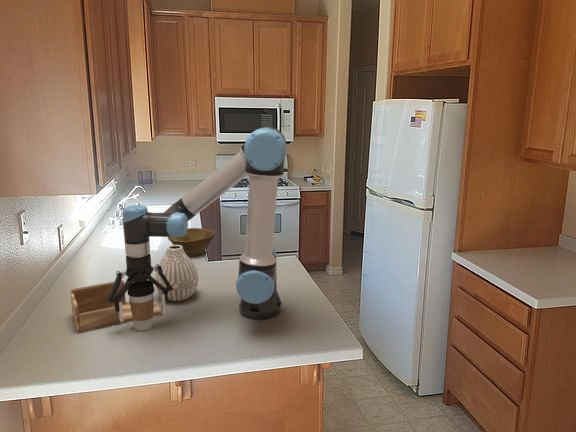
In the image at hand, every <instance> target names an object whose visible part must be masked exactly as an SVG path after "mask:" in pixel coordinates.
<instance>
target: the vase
mask: <svg viewBox="0 0 576 432" xmlns="http://www.w3.org/2000/svg"><path fill="white" fill-rule="evenodd" d="M158 264H159V265H160V266H161V267H162V272H163V274H164V275H165V277H166V278H167V280H168V281H169V283H170V285H171V286H172V288H173V290H172V291H169V292H168V294H167V295H168V301H169V302H182V301H183V302H184V301H185V300H187V299H189V298H190V297H192V295H193V294H195V292H196V290H197V287H198V285H199V273H198V270H197V267H196V265H195V263H194V261H192V259H191V257H190V256H187V255H186V253H185V251H184V249H183V247H182V246H181V245H173V244H172V245H168V246H167V248H166V252H165V254H164V256H163V258H162V259H161V260H160V262H159V263H158ZM154 279H155V280H156V281H158V282H159V283H160V284H161V285H162V286H163V287H167V286H166V285H165V283H164V281H163V280H162V278H161V277H160V275H159V274H158V272H155V276H154ZM155 288H156V290H157V291H158V294H160V292H163V291H161V290H160V289H159V288H158V287H157V286H156V285H155Z"/></svg>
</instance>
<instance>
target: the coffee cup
mask: <svg viewBox="0 0 576 432" xmlns="http://www.w3.org/2000/svg"><path fill="white" fill-rule="evenodd" d="M154 286H155V285H154V284H153V283H152V282H151V281H149V280H147V281H146V282H139V283H133V284H132V286H130V288H129V289H128V290H127V292H126V293H127V295H128V297H129V301H128V302H130V306H131V311H132V316H133V321H132V322H133V327H134V330H136V331H139V332H143V331H144V332H145V331H149V330H151V329H152V328H153V327H154V316H153V315H154V302H155V296H154V293H155V291H156V290H155V287H154Z"/></svg>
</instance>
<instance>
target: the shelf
mask: <svg viewBox="0 0 576 432" xmlns="http://www.w3.org/2000/svg"><path fill="white" fill-rule="evenodd" d="M114 282H115V280H114V281H109V282H104V283H97V284H93V285H88V286H82V287H76V288H71V291H69V294H70V295H69V296H70V303H71V310H72V311H71V313H72V318H73V321H74V325H75V328H76V332H77V334H81V333H87V332H90V331H95V330H98V329H99V328H100V329H103V328H104V329H105V328H108V326H109V327H113V326H116V325H117V324H118V325H121V323H122V324H126V323H129V322H134V321H133V316H132V311H131V306H130V301H126V293H125V294H124V296H123V297H122V299H121V302H122V311H123V322H121V321H120V319H119V312H116V310H115V304H114V302H111V303H110V302H109V300H108V296H109V294H110V291H111V289H112V286H113V284H114ZM124 284H125V280H123V279H122V280H121V283H120V286H119V288H118V290H117V293H118V292H119V291H120V289H121V288H122V286H123V285H124ZM117 293H116V295H117ZM116 295H115V296H116ZM162 313H163V312H162V310H161V308H160V307H159V305H158V304H157V303H156V301H154V315H153V317H157V316H162V315H163V314H162ZM112 325H113V326H112Z"/></svg>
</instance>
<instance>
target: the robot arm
mask: <svg viewBox="0 0 576 432" xmlns="http://www.w3.org/2000/svg"><path fill="white" fill-rule="evenodd" d="M286 151H287V140H286V137H285V136H284V134H283V132H282V131H280V130H279V129H277V128H276V127H274V126H261V127H259V128H258V129H255V130H254V131H252V132H251V133H250V134H249V135H248V137H247V139H246V141H245V143H244V144H243V145H241V146H240V147H239V152H238V153H236V154H235V155H234V156H233V157H232V158H230V159H229V160H227V162H225V163H224V164H222V165H221V166H220V167H219V168H217V169H216V170H215V171H214V172H212V173H211V174H210V175H209V176H207V177H206V178H204V179H203V180H202V181H201V182H199V184H197V185H196V186H194V187H193V188H192V189H191V190H190V191H188V192H187V193H185V195H183V196H182V197H181V198H179V199H178V200H177V201H176V202H174V203H172V204H171V205H170V206H169V207H168V208H167V209H166V210H164V212H150V211H149V210H148V207H147V206H146V205H143V204H132V205H127V206H126V207H124V208H123V209H122V227H123V237H124V238H123V239H124V251H125V262H126V269H125V271H123V270H122V271H121V270H117V271H116V273H115V275H116V276H115V280H114V281H115V282H114V281H113V282H114V284H113V286H112V289H111V291H110V294H109V296H108V300H109V302H110V303H111V302H114V304H115V310H116V312H119V319H120V321H121V322H123V311H122V302H121V299H122V297H123V296H124V294H125V295H126V294H127V293H128V292H127V291H128V289H129V288H130V286H132V284H133V283H139V282H146V281H147V280H149V281H151V282H152V283H153V286H155V287H156V286H157V287H158V288H159V289H160V290H161V291H163V292H160V293H159V295H160V296H159V297H160V310H161V311H162V313H163V314H165V313H166V303H168V301H169V300H168V295H167V294H168V292H169V291H172V290H173V288H172V286H171V285H170V283H169V281H168V280H167V278H166V277H165V275H164V274H163V272H162V267H161V266H160V265H159V264H160V263H156V264H155V265H154V266H152V258H151V253H150V252H151V245H150V244H151V243H150V237H153V238H154V237H158V238H161V237H162V238H168V237H183V236H185V235H186V233H187V229H188V228H189V227H188V226H189V221H190V220H192V219H193V218H194V217H196V215H198V214H199V213H201V212H202V211H203V210H204V209H206V208H207V207H208V206H210V205H211V204H212V203H214V202H215V201H217V199H219V198H220V197H221V196H222V195H224V194H225V193H227V192H228V191H229V190H231V188H233V187H234V186H235V185H237V184H238V183H239V182H241V181H242V180H243V179H245V178H246V177H248V179H249V181H248V182H249V185H248V199H247V200H248V201H247V212H246V213H247V215H246V226H245V227H246V228H245V229H246V230H245V243H244V244H245V246H244V249H243V250H242V254H241V255H239V263H238V277H237V279H236V281H235V287H236V288H235V289H236V292H237V294H238V296H239V297H240V300H239V304H238V311H239V314H240V315H241V316H243V317H245V318H248V319H254V320H263V319H270V318H274V317H276V316H278V315H280V314H281V312H282V311H283V309H282V308H283V307H282V305H283V304H282V300H281V297H280V294H279V292H278V290H277V283H278V281H277V280H278V279H277V257H278V256H277V250H276V249H275V248H274V247H273V246H274V235H275V221H276V209H277V196H278V194H277V193H278V183H279V180H280V179H281V178H282V177H283V176H284V172H285V171H284V169H285V160H286V159H285V158H286ZM153 272H155V273H156V272H158V274H159V275H160V277H161V278H162V280H163V281H164V283H165V285H166V286H167V287H163V286H162V285H161V284H160V283H159V282H158V281H156V280H155V277H153V276H152V274H153ZM125 276H126V277H127V278H126V280H125V281H124V285H123V286H122V288H121V289H120V291H119V292H118V293H117V290H118V288H119V286H120V283H121V280H123V279H124V278H125ZM116 293H117V295H116ZM115 295H116V296H115Z"/></svg>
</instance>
